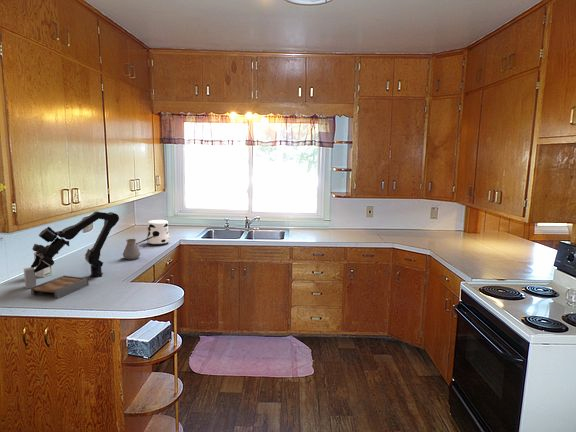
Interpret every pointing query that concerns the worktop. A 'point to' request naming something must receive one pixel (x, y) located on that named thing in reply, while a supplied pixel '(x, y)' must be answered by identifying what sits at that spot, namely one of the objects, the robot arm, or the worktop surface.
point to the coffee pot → (132, 249)
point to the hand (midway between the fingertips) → (32, 270)
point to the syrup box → (43, 271)
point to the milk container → (158, 232)
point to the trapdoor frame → (66, 289)
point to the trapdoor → (56, 284)
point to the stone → (29, 277)
